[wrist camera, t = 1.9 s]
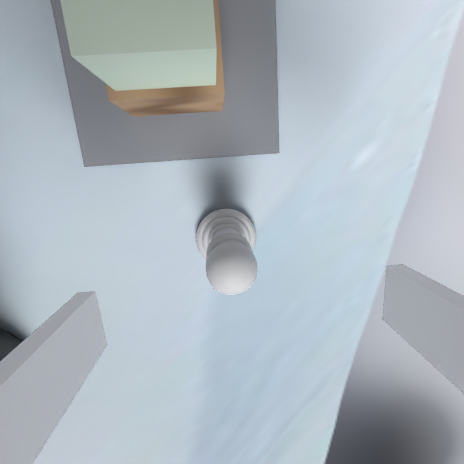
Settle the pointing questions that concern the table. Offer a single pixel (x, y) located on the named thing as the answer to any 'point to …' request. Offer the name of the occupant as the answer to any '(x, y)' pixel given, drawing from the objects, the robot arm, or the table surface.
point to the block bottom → (176, 92)
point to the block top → (144, 41)
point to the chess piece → (228, 250)
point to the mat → (187, 124)
